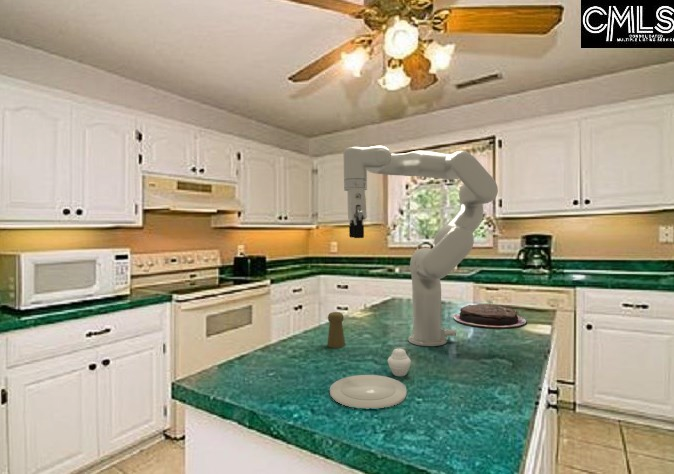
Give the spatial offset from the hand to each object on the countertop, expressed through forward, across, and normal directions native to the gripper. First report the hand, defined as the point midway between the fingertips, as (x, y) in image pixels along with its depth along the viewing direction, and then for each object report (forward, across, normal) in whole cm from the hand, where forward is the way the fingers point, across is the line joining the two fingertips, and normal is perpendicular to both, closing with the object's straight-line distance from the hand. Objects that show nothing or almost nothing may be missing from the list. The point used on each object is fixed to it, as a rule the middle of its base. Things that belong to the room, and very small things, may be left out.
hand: (356, 237), depth 134 cm
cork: (+36, +2, +7) cm, 37 cm away
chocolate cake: (+36, +25, -58) cm, 73 cm away
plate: (+36, -38, +4) cm, 53 cm away
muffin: (+36, -28, -6) cm, 46 cm away
